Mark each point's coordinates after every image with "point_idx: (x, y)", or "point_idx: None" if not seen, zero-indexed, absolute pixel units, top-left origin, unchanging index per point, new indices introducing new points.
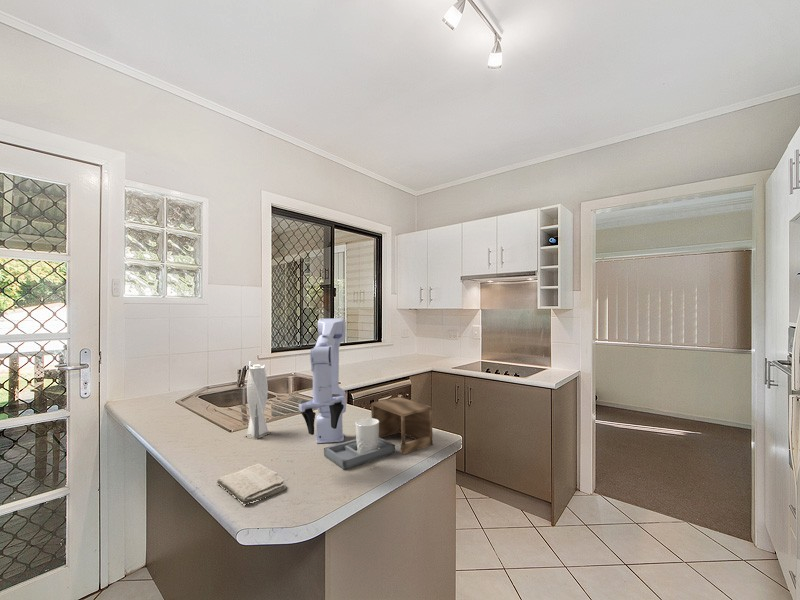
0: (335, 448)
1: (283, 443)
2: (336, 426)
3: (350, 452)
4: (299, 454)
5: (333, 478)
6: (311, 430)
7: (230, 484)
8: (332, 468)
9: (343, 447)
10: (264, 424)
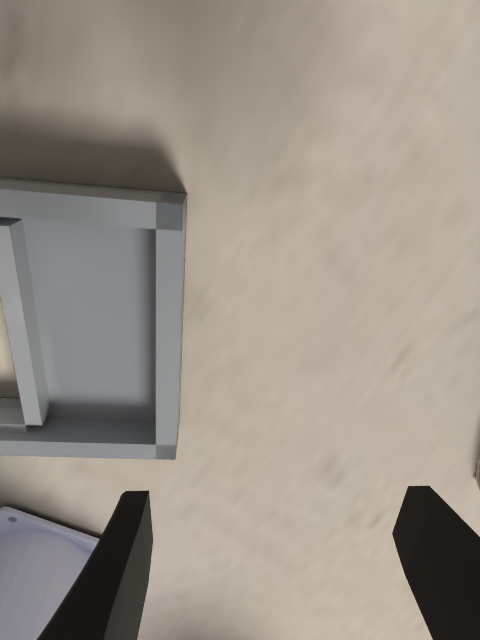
0: (107, 432)
1: (250, 611)
2: (120, 509)
3: (39, 350)
4: (261, 502)
5: (304, 137)
6: (469, 528)
7: None
8: (228, 266)
9: (51, 425)
10: None
